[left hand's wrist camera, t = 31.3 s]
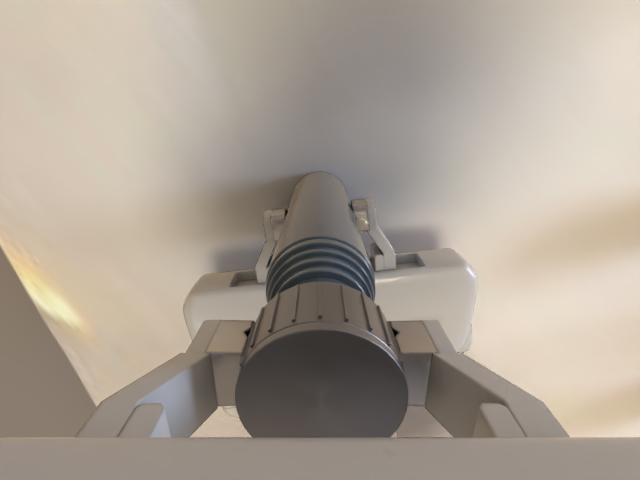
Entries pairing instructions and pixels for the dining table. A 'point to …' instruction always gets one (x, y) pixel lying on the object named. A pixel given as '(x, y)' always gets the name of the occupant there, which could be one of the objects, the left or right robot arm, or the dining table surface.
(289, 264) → the bottle
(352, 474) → the left robot arm
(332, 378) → the cap
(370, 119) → the dining table surface
